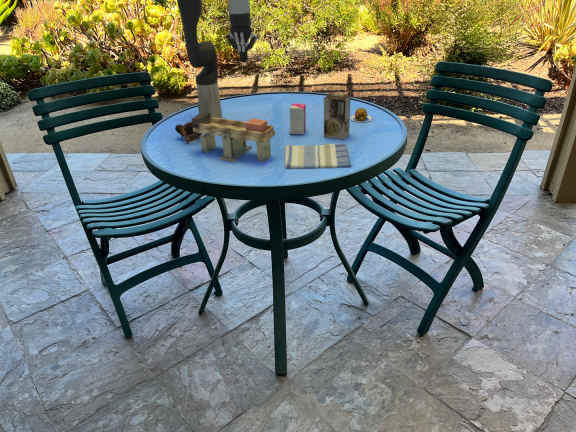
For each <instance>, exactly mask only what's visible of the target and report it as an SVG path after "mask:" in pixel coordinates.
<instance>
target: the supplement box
mask: <svg viewBox="0 0 576 432" xmlns="http://www.w3.org/2000/svg"><path fill="white" fill-rule="evenodd" d="M291 103H292V102H291ZM306 107H307V105H306V104H305V103H292V104H291V105H290V106H289V135H290V136H304V135H305V132H306V128H307V127H306V126H307V125H306V119H307V118H306V115H307V114H306V113H307V111H306V110H307V108H306Z"/></svg>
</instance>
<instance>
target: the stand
mask: <svg viewBox="0 0 576 432" xmlns="http://www.w3.org/2000/svg"><path fill="white" fill-rule="evenodd" d="M215 136H216V135H210V134H202V135H201V137H199V139H200V145H201V152H202V153H206V154H209V152H211V151H213V150H215V148H217V145H216V144H217V143H216V137H215ZM221 140H222V142H221V143H222V147H223V154H222V155H220V157H219V160H220V161H226V162H231V163H235V162H236V161H237V160H239V159H240V158H241V157H242V156H243V155H245V154H246V153H247V152H248V151H250V150H252V145H247V140H242V139H235V138H231V137H230V134H228V133H222V136H221ZM255 145H256V156H257V158H256V159H257V162H260V163H265V161H267V160H268V159H269V158H270V157H272V153H271V151H272V150H271V139H270V140H268V141H267V142H266V143H261V142H255Z"/></svg>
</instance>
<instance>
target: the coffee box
mask: <svg viewBox="0 0 576 432" xmlns="http://www.w3.org/2000/svg"><path fill="white" fill-rule="evenodd" d="M350 123H351V94H344V93H343V94H341V93H330V92H329V93H327V94H326V96H324V98H323V137H324V138H328V139H329V138H330V139H335V140H346V139H347V138H348V137H349V136H350V125H351V124H350Z"/></svg>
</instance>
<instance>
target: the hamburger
mask: <svg viewBox="0 0 576 432" xmlns="http://www.w3.org/2000/svg"><path fill="white" fill-rule="evenodd" d="M367 118H368V119H369V120H367ZM354 119H355V120H354ZM350 120H352V121H353V122H357V123H360V122H364V123H366V122H369V121H371V120H372V117H371V116H370V115H369V114H368V111H367V109H366V108H364V107H359V108H357V109H356V110H355V112H354V115H352V116H350Z"/></svg>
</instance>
